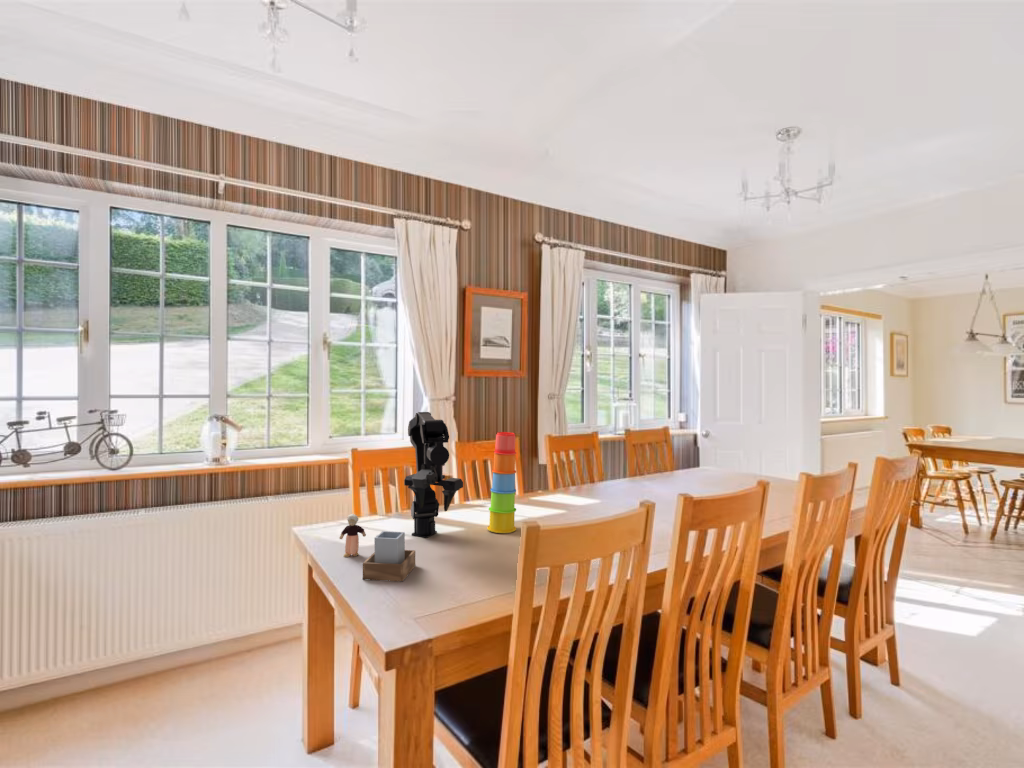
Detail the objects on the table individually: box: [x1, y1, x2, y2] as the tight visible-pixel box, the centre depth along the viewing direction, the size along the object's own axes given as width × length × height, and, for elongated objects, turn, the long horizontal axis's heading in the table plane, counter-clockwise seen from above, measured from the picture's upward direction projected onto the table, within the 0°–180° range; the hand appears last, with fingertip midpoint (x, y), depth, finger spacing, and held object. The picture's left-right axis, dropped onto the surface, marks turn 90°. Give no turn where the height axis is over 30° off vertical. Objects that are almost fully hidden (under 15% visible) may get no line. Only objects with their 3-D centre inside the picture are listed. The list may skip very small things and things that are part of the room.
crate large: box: [362, 549, 416, 582], centre depth 142 cm, size 11×11×4 cm
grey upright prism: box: [374, 530, 406, 564], centre depth 142 cm, size 6×6×10 cm
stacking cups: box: [487, 431, 517, 534], centre depth 181 cm, size 10×10×35 cm
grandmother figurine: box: [338, 513, 367, 558], centre depth 156 cm, size 8×4×13 cm, turn 117°
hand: (433, 509), depth 160 cm, fingers open, 9 cm apart
